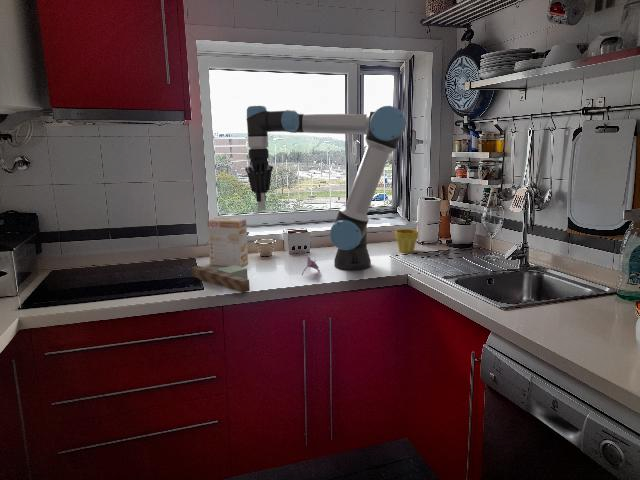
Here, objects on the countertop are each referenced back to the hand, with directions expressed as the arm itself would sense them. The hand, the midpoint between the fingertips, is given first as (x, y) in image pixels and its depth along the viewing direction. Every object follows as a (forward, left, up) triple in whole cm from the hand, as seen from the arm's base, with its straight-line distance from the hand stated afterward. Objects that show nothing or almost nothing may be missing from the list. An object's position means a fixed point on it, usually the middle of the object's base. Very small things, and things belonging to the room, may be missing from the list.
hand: (261, 209), depth 176 cm
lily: (-19, -8, -25) cm, 32 cm away
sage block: (0, +16, -25) cm, 30 cm away
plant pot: (-29, -64, -25) cm, 74 cm away
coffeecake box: (+19, +2, -25) cm, 31 cm away
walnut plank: (0, +22, -25) cm, 33 cm away
